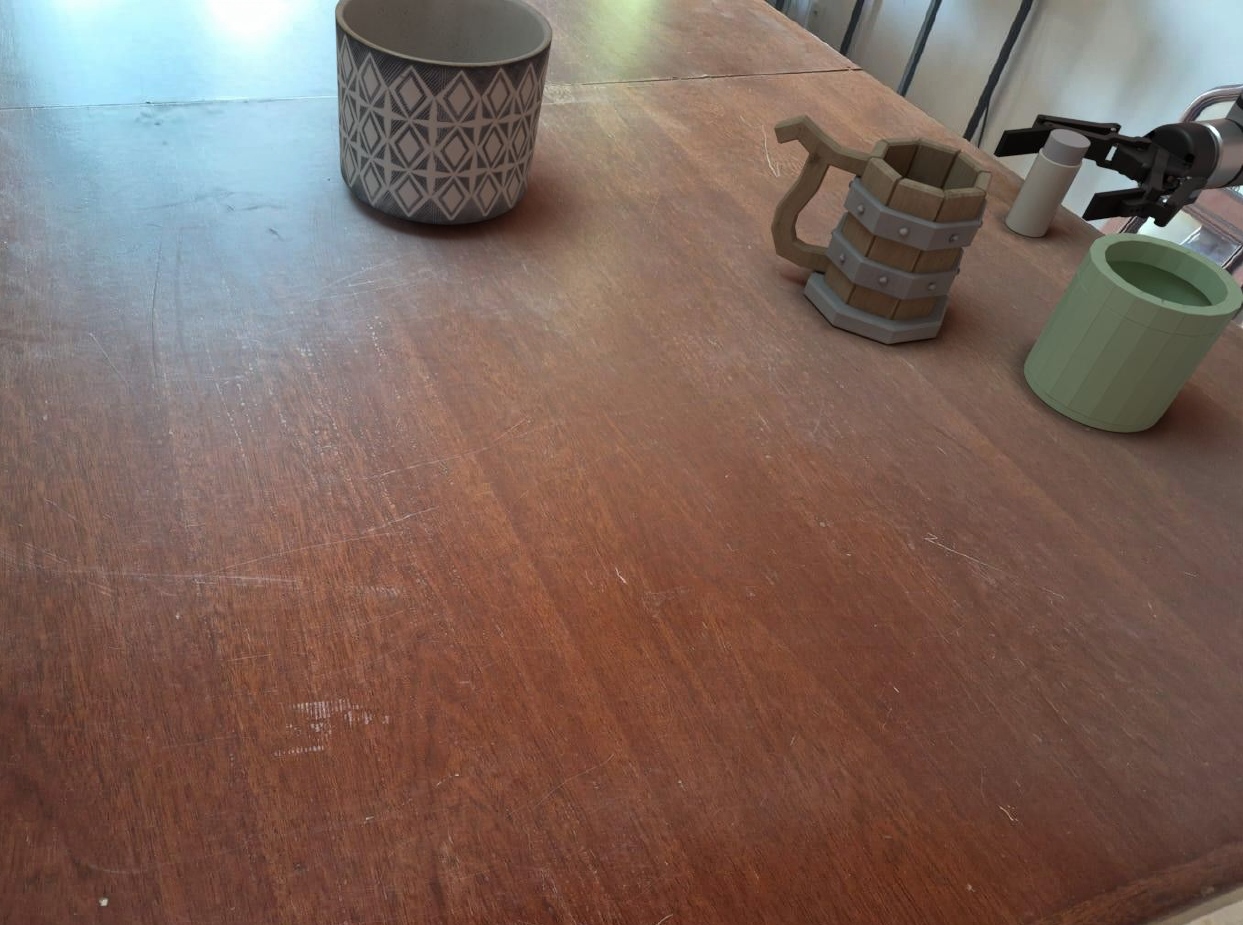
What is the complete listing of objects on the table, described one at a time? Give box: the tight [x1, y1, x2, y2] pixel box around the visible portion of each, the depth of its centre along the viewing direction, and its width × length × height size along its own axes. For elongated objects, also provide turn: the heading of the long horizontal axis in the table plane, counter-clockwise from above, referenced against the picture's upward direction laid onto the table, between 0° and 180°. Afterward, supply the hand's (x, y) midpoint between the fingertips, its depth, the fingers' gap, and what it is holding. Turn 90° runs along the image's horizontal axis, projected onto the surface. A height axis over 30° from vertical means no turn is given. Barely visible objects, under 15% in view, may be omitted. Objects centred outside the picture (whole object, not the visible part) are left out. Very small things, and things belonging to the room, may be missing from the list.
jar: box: [1023, 232, 1243, 434], centre depth 90 cm, size 12×12×12 cm
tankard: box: [770, 114, 993, 345], centre depth 96 cm, size 20×13×15 cm, turn 65°
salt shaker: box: [1004, 129, 1090, 238], centre depth 111 cm, size 4×4×10 cm
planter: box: [334, 0, 553, 225], centre depth 100 cm, size 19×19×16 cm
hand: (1043, 174), depth 110 cm, fingers open, 13 cm apart
